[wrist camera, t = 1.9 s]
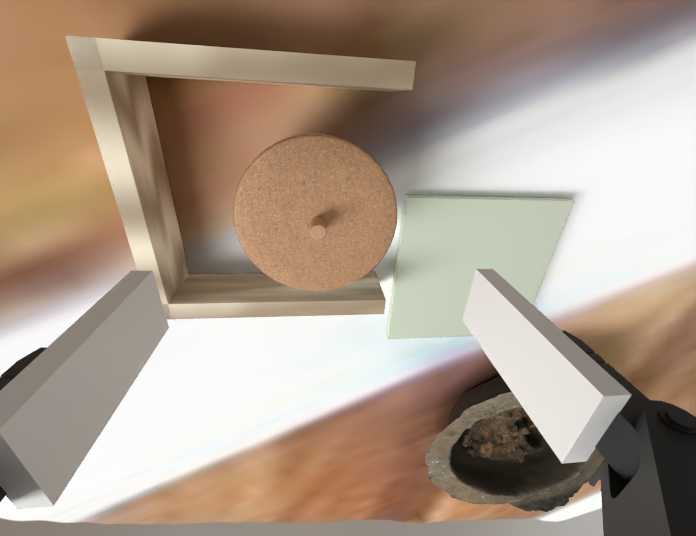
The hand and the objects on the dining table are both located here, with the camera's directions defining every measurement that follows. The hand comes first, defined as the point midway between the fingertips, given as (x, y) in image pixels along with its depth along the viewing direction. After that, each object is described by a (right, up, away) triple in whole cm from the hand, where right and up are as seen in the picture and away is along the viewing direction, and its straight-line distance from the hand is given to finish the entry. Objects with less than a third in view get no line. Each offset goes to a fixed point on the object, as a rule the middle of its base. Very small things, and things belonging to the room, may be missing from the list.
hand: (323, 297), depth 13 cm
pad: (+14, +1, +20) cm, 24 cm away
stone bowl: (+23, -19, +32) cm, 43 cm away
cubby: (-5, +8, +14) cm, 17 cm away
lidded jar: (-2, +8, +14) cm, 16 cm away
